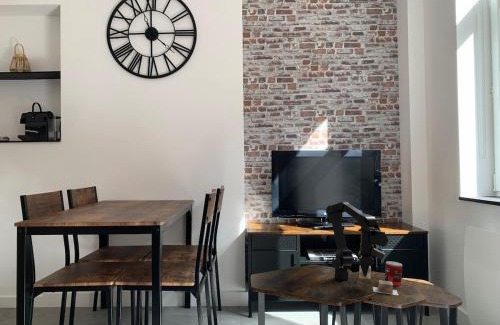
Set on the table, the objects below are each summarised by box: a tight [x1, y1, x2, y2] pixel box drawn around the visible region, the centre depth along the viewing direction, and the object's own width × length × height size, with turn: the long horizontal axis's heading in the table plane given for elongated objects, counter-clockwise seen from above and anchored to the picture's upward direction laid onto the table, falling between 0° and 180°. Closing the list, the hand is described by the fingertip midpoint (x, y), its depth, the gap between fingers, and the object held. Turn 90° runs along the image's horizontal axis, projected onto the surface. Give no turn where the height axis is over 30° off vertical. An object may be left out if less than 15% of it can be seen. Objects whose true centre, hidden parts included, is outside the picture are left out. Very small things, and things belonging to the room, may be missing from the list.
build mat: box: [372, 286, 399, 296], centre depth 180 cm, size 11×8×1 cm
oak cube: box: [358, 264, 372, 280], centre depth 182 cm, size 5×5×5 cm
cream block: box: [377, 280, 394, 295], centre depth 180 cm, size 6×6×4 cm
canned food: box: [384, 260, 403, 287], centre depth 195 cm, size 8×8×11 cm
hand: (364, 274), depth 182 cm, fingers closed on oak cube, 5 cm apart
